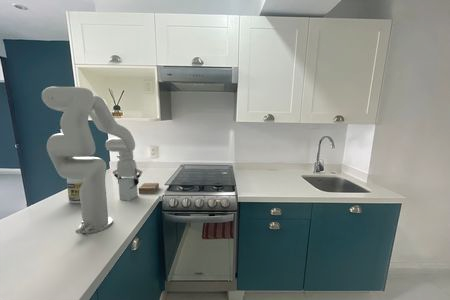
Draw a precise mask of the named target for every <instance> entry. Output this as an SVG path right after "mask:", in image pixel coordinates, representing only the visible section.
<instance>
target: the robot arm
mask: <svg viewBox="0 0 450 300" xmlns="http://www.w3.org/2000/svg"><path fill="white" fill-rule="evenodd" d="M41 100H42V101H43V102H42V103H44V104H45V105H46V106H47V107H48V108H50V109H51V110H55V111H59V112H63V114H62V116H61V118H60V120H59V125H60V129H61V131H62V133H55V134H52V135H51V136H50V137H48V139H47V142H46V151H47V154H48V156H49V158H50V160H51V162H52V164H53V166H54V168H55V170H56V172H57V174H58V175H59V176H60V177H61V178H63V179H66V180H67V179H84V182H83V184H82V185H81V187H80V190H79V194H80V202H81V203H80V211H81V218H82V221H81V223H80V225H79V226H78V228H77V229H76V230H75V234H78V235H79V234H81V233H82V234H94V233H98V232H101V231H105V229H107V228H109V227H110V226H112V224H113V218H112V217H111V216H109V211H108V201H107V200H108V198H107V187H106V174H107V163H106V160H104V159H103V158H100V157H96V156H93V155H94V154H95V153H96V150H97V149H96V144H95V143H96V142H95V141H94V137H93V135H92V131H91V128H90V125H89V118H91V121H93V123H94V125H95V127H96V128H97V129H98V130H99V131H100V132H102V133H105V134H109V135H111V136H114V137H110V138H108V139H107V140H106V141H105V145H104V146H105V148H106V150H107V151H109V152H110V153H113V152H116V153H118V155H116V157H117V158H118V159H117V163H116V169H115V170H113V171H112V174H113V176H114V177H115V178H116V180H117V184H118V185H119V182H118V180H119V179H121V178H124V177H134V178H135V186H136V185H137V186H138V185H139V183H140V182H139V179H140V177H141V176H142V174H143V171H142V170H140V169H139V168H137V163H136V159H135V158H134V150H135V148H136V141H135V139H134V137H133V135H132V133H131V131H129V129H128V128H127V127H125V126H124V125H122V124H121V123H119V122H117V121H116V119H115V118H114V116H113V113H112V111H111V110H110V108H109V105H108V104H107V102H106V100H105V99H104V98H103V97H101V96H100V95H95V94H94V92H93V90H91V89H89V88H86V87H83V86H48V87H46V88H45V89H43V91H42V92H41Z"/></svg>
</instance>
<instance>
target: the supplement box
mask: <svg viewBox="0 0 450 300" xmlns="http://www.w3.org/2000/svg"><path fill="white" fill-rule="evenodd" d="M118 182H119V184H118V193H119V200H121V201H128V202H129V201H132V200H133V199H135V198H136V197H138V194H139V192H138V184H137V185H136V186H135V178H134V177H121V179H119V180H118V179H117V183H118Z"/></svg>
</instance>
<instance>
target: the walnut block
mask: <svg viewBox="0 0 450 300" xmlns="http://www.w3.org/2000/svg"><path fill="white" fill-rule="evenodd" d="M159 188H160V183H159V182H144V183H142V185H140V186H139V187H138V194H145V195H146V194H148V195H149V194H154V195H155V193H156V192H157V191H158V190H159Z"/></svg>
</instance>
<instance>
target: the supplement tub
mask: <svg viewBox="0 0 450 300" xmlns="http://www.w3.org/2000/svg"><path fill="white" fill-rule="evenodd" d="M83 182H84V179H66V186H67V196H68V202H69V203H71V204H81V202H80V194H79V190H80V187H81V185H82V184H83Z"/></svg>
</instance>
